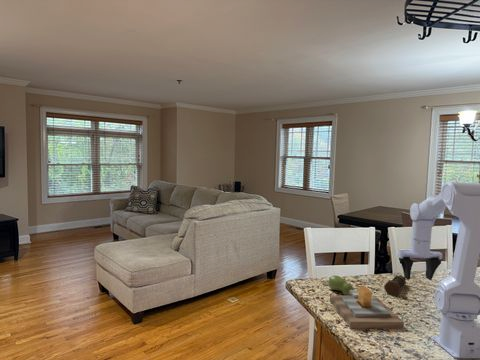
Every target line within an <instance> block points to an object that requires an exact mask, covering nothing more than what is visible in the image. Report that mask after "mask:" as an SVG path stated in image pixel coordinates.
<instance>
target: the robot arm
mask: <svg viewBox="0 0 480 360" xmlns="http://www.w3.org/2000/svg"><path fill="white" fill-rule="evenodd" d="M446 208H447V209H448V211H449V212H450V213H451V215H452V216H454V217H456V218H458V219H459V226H458V230H457V237H456V242H455V249H454V254H453V259H452V263H451V270H450V275H449V276H446V277H445V278H443V279H442V280H440V281H439V282H438V286H437V289H436V290H435V292H434V295H433V296H434V303H435V306H436V308H437V309H438V310H439V311H440V323H439V333H438V334H439V335H431V339H432V340H433V341H434V342H435V343H437V344H438V345H439V346H440V347H441V348H442V349H444V350H445V351H446V352H447V353H448V354H449V355H450V356H452V357H453V358H455V359H480V326H479V325H478V324H476V321H475V320H477V319H478V316H480V285H478V284H477V283H476V282H475V277H476V274H477V273H476V272H477V268H478V263H479V259H480V183H479V182H458V181H457V182H455V181H446V182H445V183H444V184H443V185H442V186H441V192H440V193H439V194H438V195H432V194H431V195H429V196H428V197H427V198H426V199H425V200H423V201H422V202H420V203H416V202H414V203H412V205H411V206H410V210H409V216H410V219H411V220H412V227H411V228H412V229H411V239H410V240H411V241H410V250H409V249H408V250H397V258H398V260H399V262H400V265H401V267H402V270H403V277H404V278H405V279H406V280H407V281H410V280H411V276H412V267H413V264H414V261H412V260H411V259H424V260H425V279H427V280H429V281H432V279H433V278H434V274H436V273H435V272H436V271H437V269H438V267H439V266H440V265H441V264H442V259H443V253H442V252H440V251H432V250H431V244H432V243H431V242H432V232H433V231H432V229H433V227H434V226H435V221H436V219H437V216H438V215H441V214H442V213H443V212H445V210H447V209H446Z"/></svg>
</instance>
